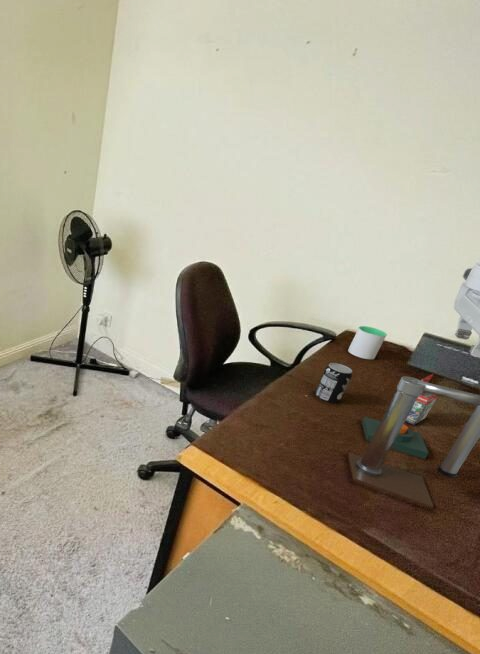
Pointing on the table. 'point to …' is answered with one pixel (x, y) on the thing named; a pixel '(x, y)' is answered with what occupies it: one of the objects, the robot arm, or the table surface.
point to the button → (403, 429)
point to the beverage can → (333, 382)
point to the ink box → (422, 405)
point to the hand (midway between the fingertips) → (468, 346)
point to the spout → (471, 432)
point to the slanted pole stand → (371, 464)
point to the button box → (398, 439)
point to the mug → (367, 342)
